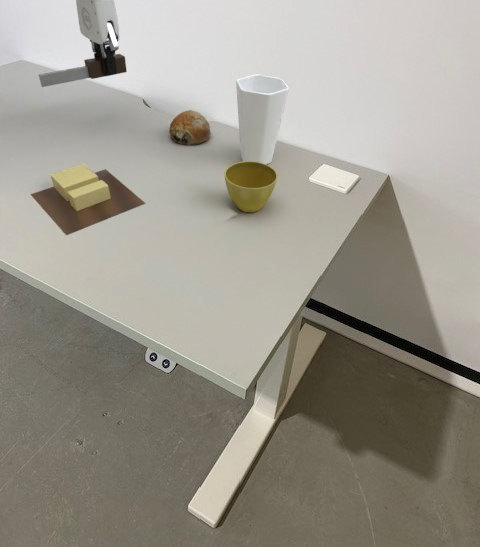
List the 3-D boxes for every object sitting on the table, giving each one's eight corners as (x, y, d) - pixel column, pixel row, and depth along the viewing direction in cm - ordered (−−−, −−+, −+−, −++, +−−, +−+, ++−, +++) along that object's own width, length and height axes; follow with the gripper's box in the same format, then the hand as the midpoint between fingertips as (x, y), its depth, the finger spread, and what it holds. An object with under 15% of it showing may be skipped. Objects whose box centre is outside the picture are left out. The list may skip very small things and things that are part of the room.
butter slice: (76, 211, 78) (73, 197, 76) (70, 205, 79) (67, 191, 77) (110, 198, 81) (108, 185, 79) (104, 192, 83) (101, 179, 81)
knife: (121, 69, 101) (119, 53, 99) (126, 72, 100) (124, 56, 98) (39, 85, 91) (35, 68, 89) (44, 88, 90) (39, 71, 87)
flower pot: (214, 200, 85) (214, 169, 80) (253, 186, 90) (256, 156, 85) (243, 226, 79) (245, 194, 74) (283, 209, 84) (288, 178, 79)
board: (68, 241, 74) (66, 235, 73) (32, 200, 82) (30, 194, 81) (146, 209, 82) (145, 203, 81) (106, 175, 90) (105, 169, 89)
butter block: (67, 201, 80) (63, 188, 78) (53, 187, 83) (49, 174, 81) (100, 189, 84) (97, 176, 81) (86, 176, 87) (83, 163, 85)
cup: (230, 148, 101) (233, 74, 89) (270, 146, 103) (278, 73, 91) (240, 172, 93) (244, 95, 82) (283, 169, 95) (293, 93, 83)
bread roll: (211, 155, 106) (223, 124, 102) (178, 147, 99) (190, 114, 95) (191, 139, 111) (202, 109, 108) (159, 131, 104) (169, 99, 101)
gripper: (57, -28, 88) (76, 65, 100) (94, -14, 79) (109, 86, 92) (90, -30, 92) (104, 60, 104) (129, -16, 83) (139, 80, 96)
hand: (106, 72), depth 98 cm, fingers closed on knife, 2 cm apart
